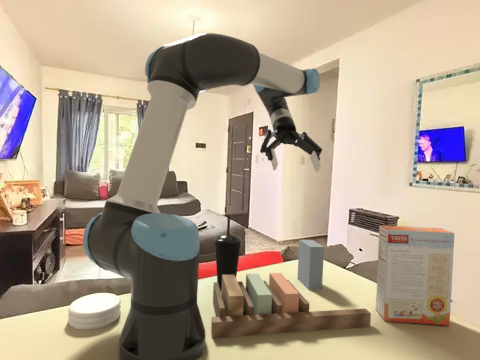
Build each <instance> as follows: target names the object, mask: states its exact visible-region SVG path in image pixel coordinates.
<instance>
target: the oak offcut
mask: <svg viewBox="0 0 480 360" xmlns="http://www.w3.org/2000/svg"><path fill="white" fill-rule="evenodd" d="M238 282H239V281H238V279H237V276H236V277H235V275H234V274H229V275H222V290H221V291H220V292H221V296H222V299H223V303H224V307H225V316H242V315H243V305H244V295H243V293H242V290H241V288H240V286H239V284H238Z"/></svg>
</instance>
